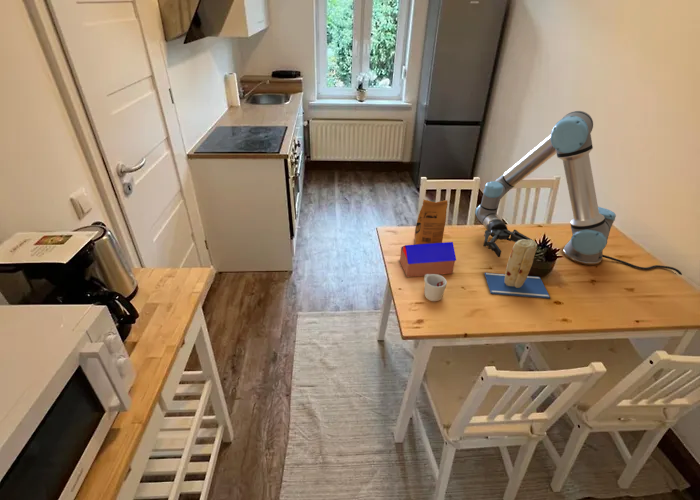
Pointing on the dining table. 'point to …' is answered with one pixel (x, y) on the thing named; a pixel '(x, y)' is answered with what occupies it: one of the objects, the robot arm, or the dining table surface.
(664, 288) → the dining table surface
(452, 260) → the house
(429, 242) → the coffee package
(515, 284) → the food model
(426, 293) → the cup
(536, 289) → the towel
